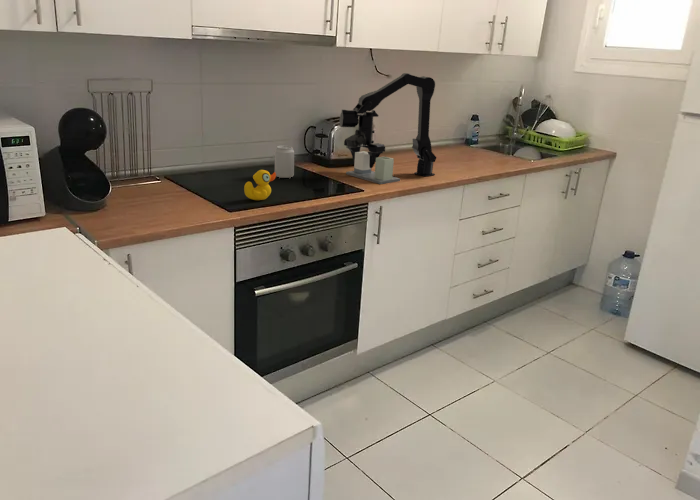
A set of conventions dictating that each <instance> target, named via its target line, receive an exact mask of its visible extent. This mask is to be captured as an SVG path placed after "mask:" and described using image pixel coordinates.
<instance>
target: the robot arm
mask: <svg viewBox="0 0 700 500" xmlns="http://www.w3.org/2000/svg"><path fill="white" fill-rule="evenodd" d="M407 85H411V86H413V87H416V93H417V94H416V95H417V97H418V119H417V121H418V122H417V123H418V125H417V136H416V137H415V138H412V147H411V149H413V153H415V155H416V158H417V159H418V161H417V166H416V167H417V168H416V171H415V172H414V174H415V175H419V176H422V177H430V176H431V177H432V176H435V175H436V174H435V173H433V169H434V163H435V162H436V161H437V156H436V155H435V153H434V152H433V151H432V150H433V149H432V143H431V142H432V141H431V139H430V135H429V133H430V120H431V119H430V117H431V115H430V114H431V100H432V98H433V95H434V93H435V90H436V89H435V87H436V81H435V80H434V79H433V78H432V77H430V76H429V77H428V76H424V75H421V76H418V75H417V76H416V75H412V74H411V73H407V72H404V73H402V74H401V75H400V76H398V77H397V78H395V79H393V80H392V81H390V82H388V83H386V84H385V85H383V86H382V87H380V88H379V89H377V90H374V91H371V92H367V93H365V94H363V95H361V96H359V98H358V103H357V104H356V105H355V106H354V108H353V109H351V110H350V109H341V112H340V116H339V126H340V128H356V126H358V129H356V130H355V133H354V134H352V135H350V136H348V137H347V138H345V139H344V143H343V146H346V149H348V150H349V152H350V154H351V157H352V161H353V164H354V163H355V152H361V149H362V148H366V149H368V151H367V152H368V154H369V155H370V163H369V165H370V168H371V169H373V167H375V163H376V158H377V157H380V156H381V154H383V153H384V152H386V146H385V144H383V143H376V142H374V140H372V139H373V134H375V130H373V125H374V117H376V118H377V117H378V118H379V114H378V113H377V111H376V110H375V109H376V108H377V107H378V106H379V105H380V104H381V102H382V101H383V100H384V99H387V98H388V97H389V96H390V95H392V94H394V93H396V92H398V91H399V90H401V89H402V88H404V87H406V86H407Z"/></svg>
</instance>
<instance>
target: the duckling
mask: <svg viewBox="0 0 700 500" xmlns="http://www.w3.org/2000/svg"><path fill="white" fill-rule="evenodd" d="M252 178H253V180H254V182H255V184H256V187H254V185H253V183H252V181H247V182H245V184H244V188H243V190H244V191H243V192H244V195H245V197H247V198H248V199H250V200H252V201H265V200H266V199H267V198H268V197H269V196H270V195H271V193H272V187H271V186H270V184H269V183H270V182H273V181H274V180H275V179H276V178H277V177H276V173H275V171H274V172H273V173H272V174H270V172H269V171H268V170H265V169H259V170H257V171H256V172H255V173H254V174H253V176H252Z"/></svg>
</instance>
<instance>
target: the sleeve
mask: <svg viewBox="0 0 700 500" xmlns="http://www.w3.org/2000/svg"><path fill="white" fill-rule="evenodd" d="M368 152H369V151H365V150H363V151H360V152H355V163H354V162H353V164H354V168H353V171H354V172H357V173H360V174H367V173H371V171H372V168H370V165H369V163H370V155H369V154H368Z"/></svg>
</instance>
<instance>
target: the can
mask: <svg viewBox="0 0 700 500" xmlns="http://www.w3.org/2000/svg"><path fill="white" fill-rule="evenodd" d="M274 172H275V173H276V177H275V178H277V177H279V178H278V179H280V178H289V179H291V177H292V178H293V177H294V176H295V150H294V148H293V146H290V145H278V146H276V149H275V150H274Z"/></svg>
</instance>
